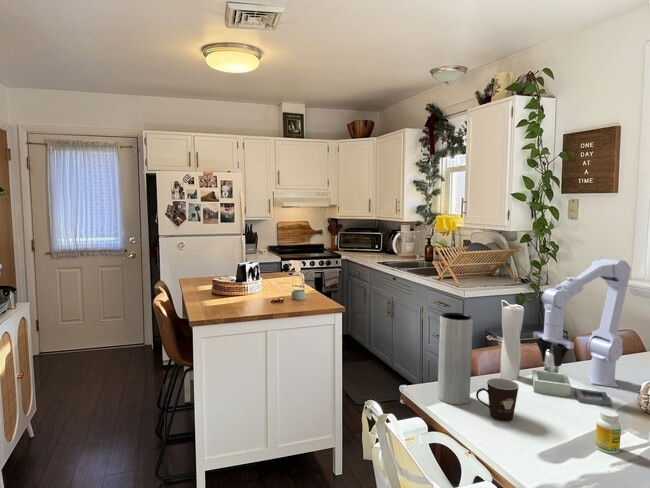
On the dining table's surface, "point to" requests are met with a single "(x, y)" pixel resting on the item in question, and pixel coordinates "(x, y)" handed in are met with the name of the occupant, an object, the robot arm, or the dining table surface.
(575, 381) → the dining table surface
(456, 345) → the vase
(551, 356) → the shiny metal cylinder
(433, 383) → the dining table surface
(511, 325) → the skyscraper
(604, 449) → the supplement bottle
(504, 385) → the coffee mug
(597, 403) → the grey square frame
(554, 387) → the bin
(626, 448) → the dining table surface
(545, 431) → the dining table surface
